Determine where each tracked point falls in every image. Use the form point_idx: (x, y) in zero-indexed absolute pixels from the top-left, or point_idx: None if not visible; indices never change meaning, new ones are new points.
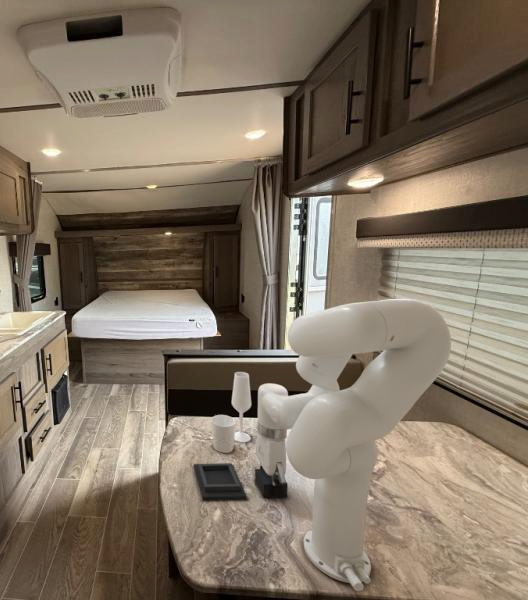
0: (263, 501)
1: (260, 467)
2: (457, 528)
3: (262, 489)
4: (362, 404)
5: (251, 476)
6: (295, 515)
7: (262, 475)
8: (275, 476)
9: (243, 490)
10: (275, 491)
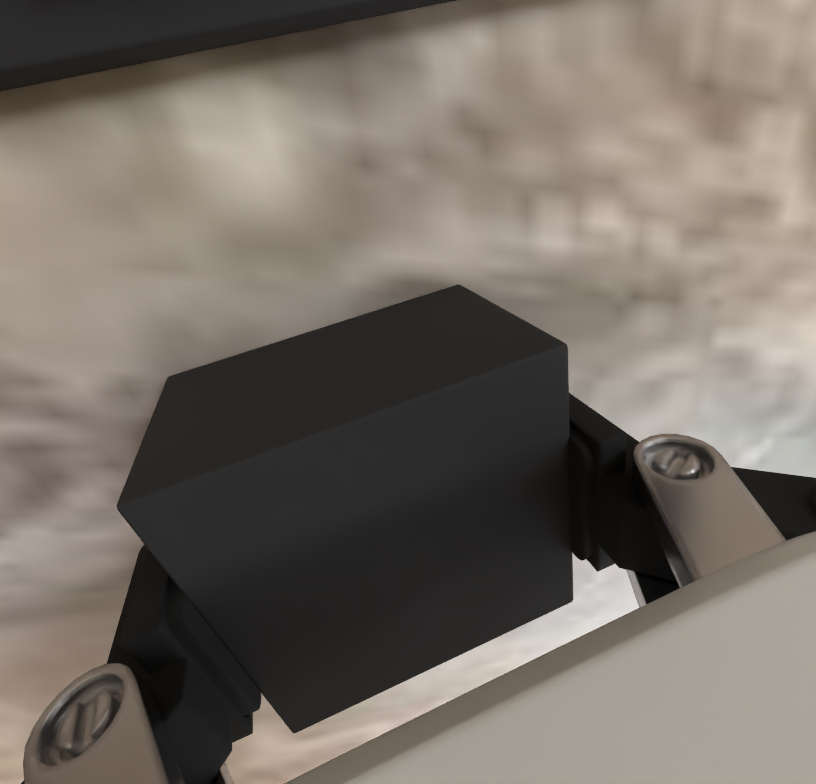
0: (88, 371)
1: (594, 429)
2: None
3: (202, 401)
4: None
5: (539, 244)
6: (30, 649)
7: (399, 465)
8: (413, 612)
9: (95, 38)
10: (128, 603)
